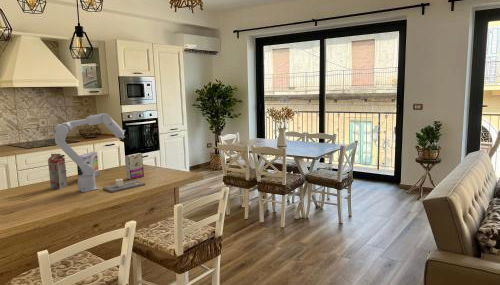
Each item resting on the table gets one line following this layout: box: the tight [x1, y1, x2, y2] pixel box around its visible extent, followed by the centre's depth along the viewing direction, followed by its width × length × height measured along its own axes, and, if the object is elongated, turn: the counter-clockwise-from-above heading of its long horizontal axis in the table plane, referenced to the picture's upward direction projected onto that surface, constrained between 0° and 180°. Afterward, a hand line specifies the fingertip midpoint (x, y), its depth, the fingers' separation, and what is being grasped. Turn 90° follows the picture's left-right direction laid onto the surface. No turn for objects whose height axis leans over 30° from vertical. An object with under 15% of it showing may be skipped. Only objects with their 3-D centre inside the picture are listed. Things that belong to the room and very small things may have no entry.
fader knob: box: [115, 178, 124, 187], centre depth 223 cm, size 3×4×4 cm
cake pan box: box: [76, 151, 100, 179], centre depth 248 cm, size 19×5×18 cm, turn 171°
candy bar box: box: [124, 152, 145, 180], centre depth 249 cm, size 11×5×16 cm, turn 143°
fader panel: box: [102, 179, 146, 194], centre depth 225 cm, size 22×12×1 cm, turn 136°
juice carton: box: [47, 153, 68, 190], centre depth 226 cm, size 7×7×22 cm
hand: (129, 143), depth 232 cm, fingers open, 7 cm apart
